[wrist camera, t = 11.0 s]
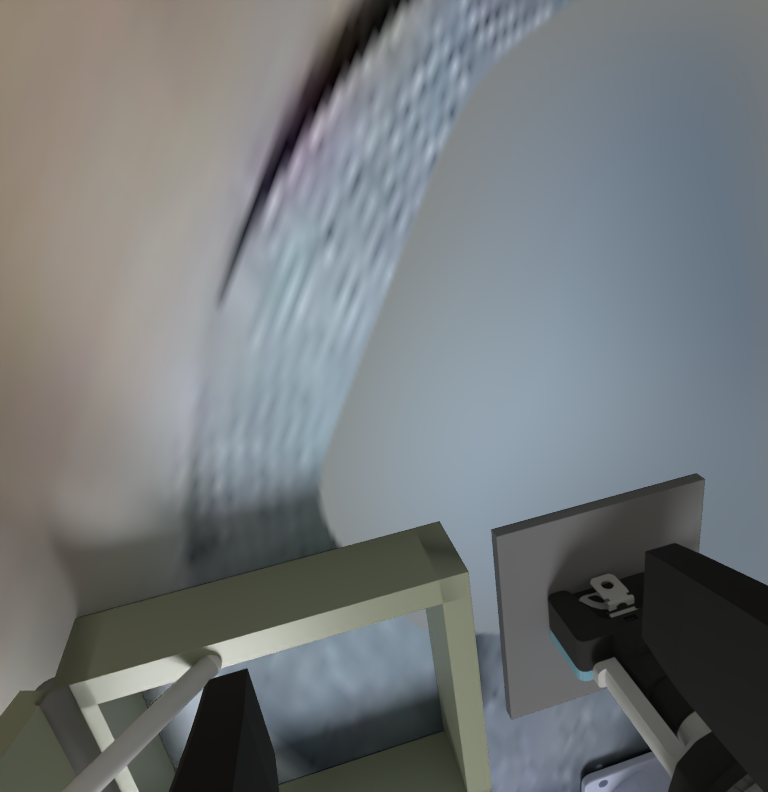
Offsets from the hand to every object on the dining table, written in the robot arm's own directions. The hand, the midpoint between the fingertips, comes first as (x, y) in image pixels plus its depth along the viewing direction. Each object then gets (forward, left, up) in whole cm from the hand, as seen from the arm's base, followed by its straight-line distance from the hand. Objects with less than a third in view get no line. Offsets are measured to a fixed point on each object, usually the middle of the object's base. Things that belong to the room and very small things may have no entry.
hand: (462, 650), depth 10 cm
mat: (-9, +11, -10) cm, 18 cm away
